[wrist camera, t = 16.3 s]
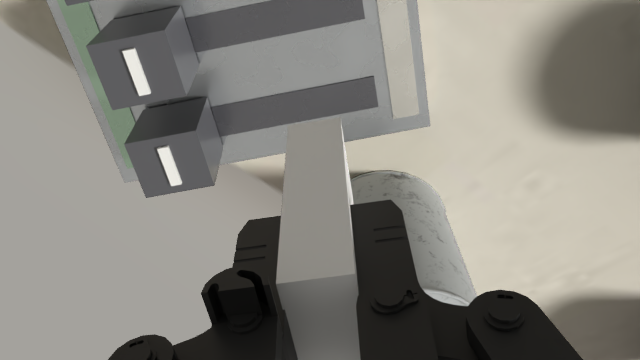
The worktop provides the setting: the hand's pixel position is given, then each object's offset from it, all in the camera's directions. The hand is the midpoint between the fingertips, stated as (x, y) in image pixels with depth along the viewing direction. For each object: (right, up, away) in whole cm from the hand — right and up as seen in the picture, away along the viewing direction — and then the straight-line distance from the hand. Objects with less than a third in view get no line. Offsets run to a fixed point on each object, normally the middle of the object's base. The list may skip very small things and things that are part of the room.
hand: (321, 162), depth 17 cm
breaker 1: (-9, +7, +16) cm, 20 cm away
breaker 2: (-8, +3, +19) cm, 21 cm away
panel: (-5, +9, +18) cm, 21 cm away
